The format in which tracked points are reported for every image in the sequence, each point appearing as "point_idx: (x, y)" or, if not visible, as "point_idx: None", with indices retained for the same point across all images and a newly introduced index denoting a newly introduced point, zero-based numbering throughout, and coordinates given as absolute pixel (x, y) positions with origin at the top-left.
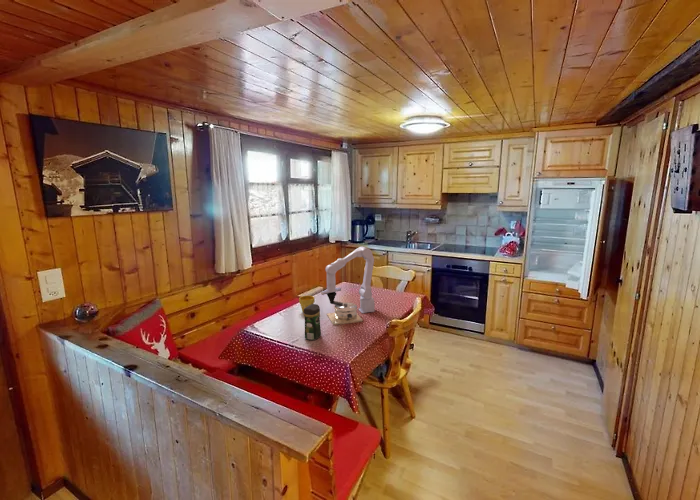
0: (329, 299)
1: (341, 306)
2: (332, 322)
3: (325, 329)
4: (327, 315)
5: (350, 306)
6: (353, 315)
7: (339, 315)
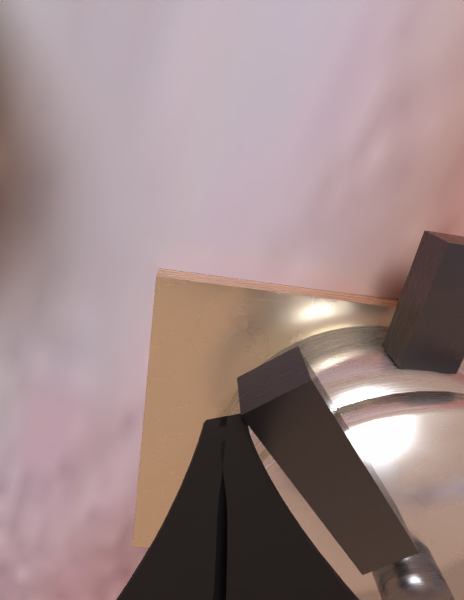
0: (185, 497)
1: (338, 548)
2: (135, 523)
3: (42, 567)
4: (152, 323)
5: (451, 587)
6: None
7: None
